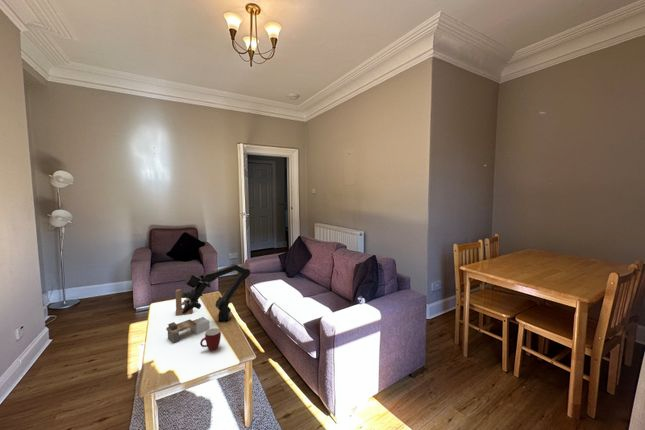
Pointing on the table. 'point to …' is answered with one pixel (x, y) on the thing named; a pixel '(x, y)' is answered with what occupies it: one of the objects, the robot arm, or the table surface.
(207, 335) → the mug
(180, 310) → the wooden block
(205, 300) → the table surface
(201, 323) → the gray rectangular block
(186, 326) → the plank
